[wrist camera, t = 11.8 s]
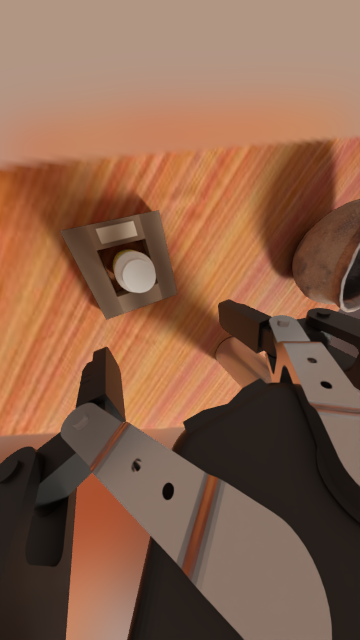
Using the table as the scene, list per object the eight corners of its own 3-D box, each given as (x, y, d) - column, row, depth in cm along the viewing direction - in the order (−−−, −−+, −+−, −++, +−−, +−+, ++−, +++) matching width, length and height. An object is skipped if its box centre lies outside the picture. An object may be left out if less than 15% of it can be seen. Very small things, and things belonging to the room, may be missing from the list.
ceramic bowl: (305, 297, 51) (369, 316, 39) (261, 288, 41) (327, 309, 29) (346, 220, 43) (442, 213, 31) (304, 187, 34) (419, 157, 21)
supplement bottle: (132, 288, 28) (143, 306, 21) (105, 267, 25) (105, 280, 18) (151, 264, 28) (169, 274, 20) (125, 241, 25) (135, 241, 17)
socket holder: (153, 212, 25) (159, 209, 22) (172, 289, 32) (178, 294, 29) (64, 231, 22) (59, 230, 19) (106, 312, 28) (106, 320, 26)
